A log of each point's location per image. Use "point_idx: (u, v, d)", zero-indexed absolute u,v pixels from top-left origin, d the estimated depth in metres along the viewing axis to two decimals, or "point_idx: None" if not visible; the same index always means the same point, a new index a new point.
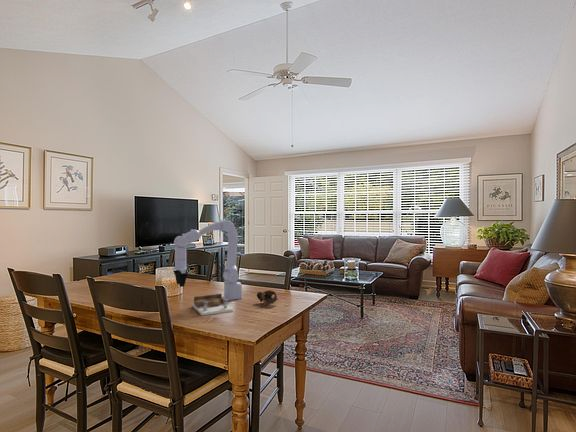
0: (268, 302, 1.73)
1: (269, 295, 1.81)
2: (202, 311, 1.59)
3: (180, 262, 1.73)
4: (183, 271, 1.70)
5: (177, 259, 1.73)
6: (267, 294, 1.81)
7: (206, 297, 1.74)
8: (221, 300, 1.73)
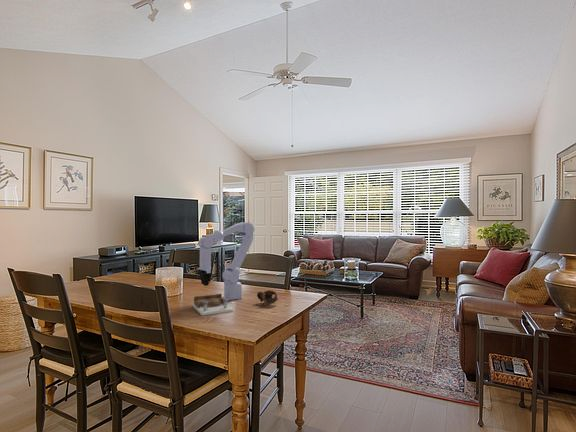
0: (268, 302, 1.73)
1: (269, 295, 1.81)
2: (202, 311, 1.59)
3: (205, 262, 1.77)
4: (208, 271, 1.74)
5: (202, 259, 1.77)
6: (267, 294, 1.81)
7: (206, 297, 1.74)
8: (221, 300, 1.73)
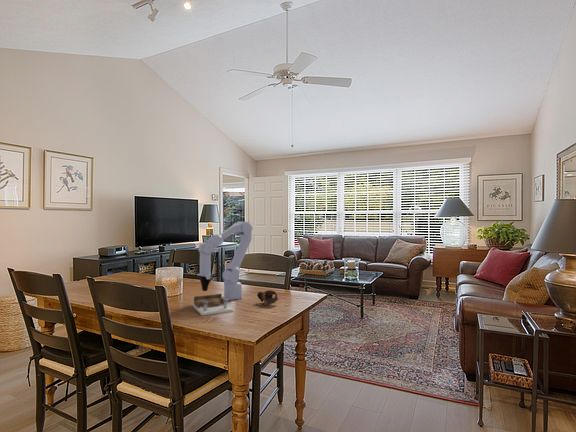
0: (269, 302, 1.73)
1: (270, 295, 1.81)
2: (202, 311, 1.59)
3: (205, 268, 1.77)
4: (208, 277, 1.74)
5: (202, 265, 1.77)
6: (268, 294, 1.81)
7: (206, 297, 1.74)
8: (221, 300, 1.73)
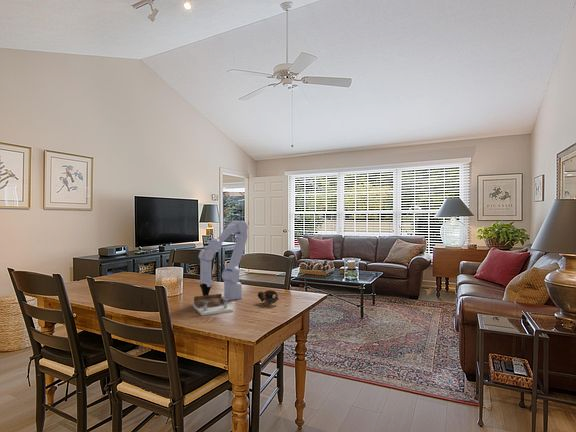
0: (269, 302, 1.73)
1: (270, 295, 1.82)
2: (202, 311, 1.59)
3: (206, 276, 1.76)
4: (209, 284, 1.73)
5: (203, 272, 1.76)
6: (268, 294, 1.81)
7: (206, 297, 1.74)
8: (221, 300, 1.73)
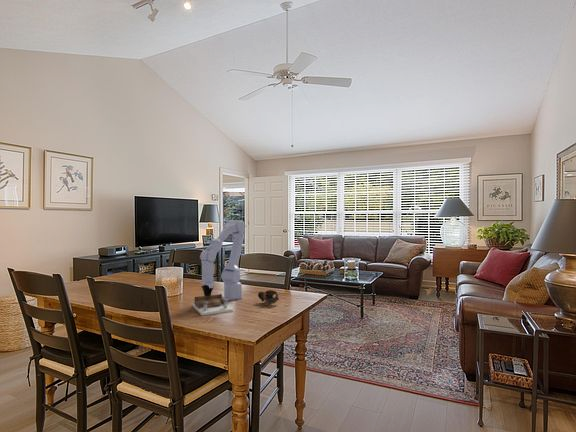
0: (270, 302, 1.73)
1: (270, 295, 1.82)
2: (202, 311, 1.59)
3: (207, 277, 1.73)
4: (211, 286, 1.69)
5: (204, 273, 1.73)
6: (268, 294, 1.81)
7: (206, 297, 1.73)
8: (222, 300, 1.72)
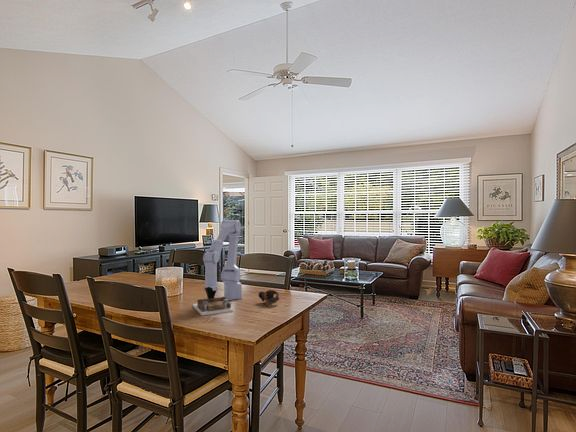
0: (270, 301, 1.74)
1: (271, 295, 1.82)
2: (202, 311, 1.59)
3: (211, 279, 1.68)
4: (215, 288, 1.64)
5: (208, 275, 1.68)
6: (269, 294, 1.82)
7: (210, 300, 1.68)
8: None
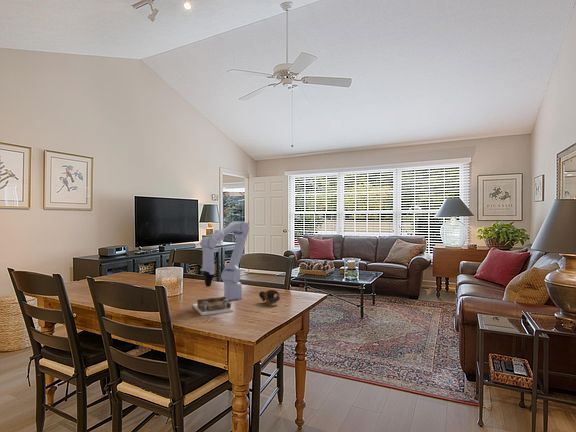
0: (271, 301, 1.74)
1: (271, 294, 1.83)
2: (202, 311, 1.59)
3: (208, 263, 1.72)
4: (212, 272, 1.69)
5: (205, 260, 1.72)
6: (269, 293, 1.82)
7: (210, 300, 1.68)
8: None
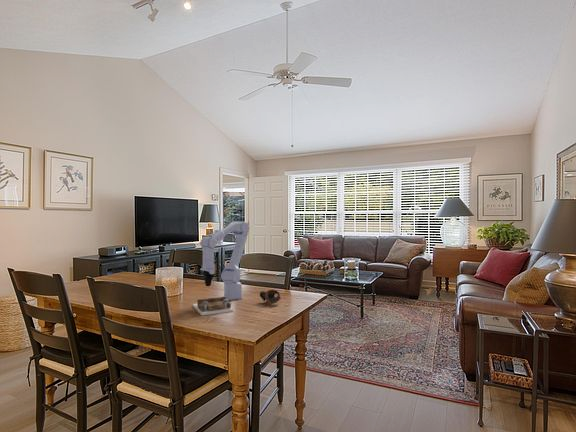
0: (272, 301, 1.75)
1: (272, 294, 1.83)
2: (202, 311, 1.59)
3: (208, 263, 1.72)
4: (212, 272, 1.69)
5: (205, 260, 1.72)
6: (270, 293, 1.82)
7: (210, 300, 1.68)
8: None
